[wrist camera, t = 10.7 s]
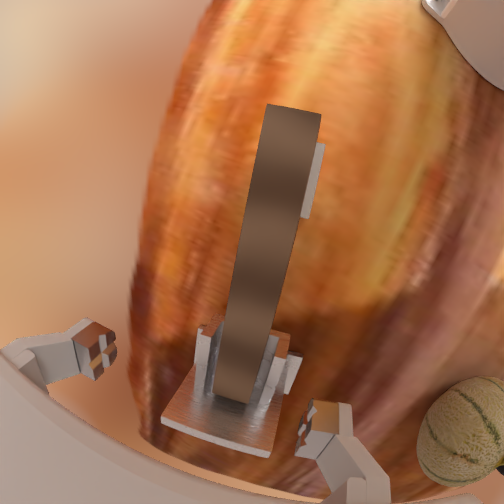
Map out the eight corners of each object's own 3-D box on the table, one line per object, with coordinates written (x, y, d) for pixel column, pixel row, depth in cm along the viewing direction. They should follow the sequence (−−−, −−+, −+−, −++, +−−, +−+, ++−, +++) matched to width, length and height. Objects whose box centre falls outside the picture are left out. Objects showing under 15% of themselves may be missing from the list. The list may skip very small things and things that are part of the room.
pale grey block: (269, 137, 24) (261, 130, 20) (323, 149, 23) (325, 144, 20) (256, 199, 26) (246, 204, 22) (309, 212, 25) (308, 219, 22)
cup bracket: (204, 294, 30) (148, 357, 19) (314, 324, 28) (308, 408, 17) (196, 362, 33) (152, 429, 22) (288, 390, 31) (273, 469, 20)
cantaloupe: (387, 415, 30) (400, 507, 16) (465, 337, 25) (519, 423, 11) (443, 437, 29) (461, 507, 15) (509, 373, 24) (549, 439, 10)
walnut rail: (275, 115, 20) (266, 103, 16) (320, 125, 19) (321, 114, 16) (224, 367, 27) (211, 392, 24) (256, 377, 27) (248, 404, 23)
